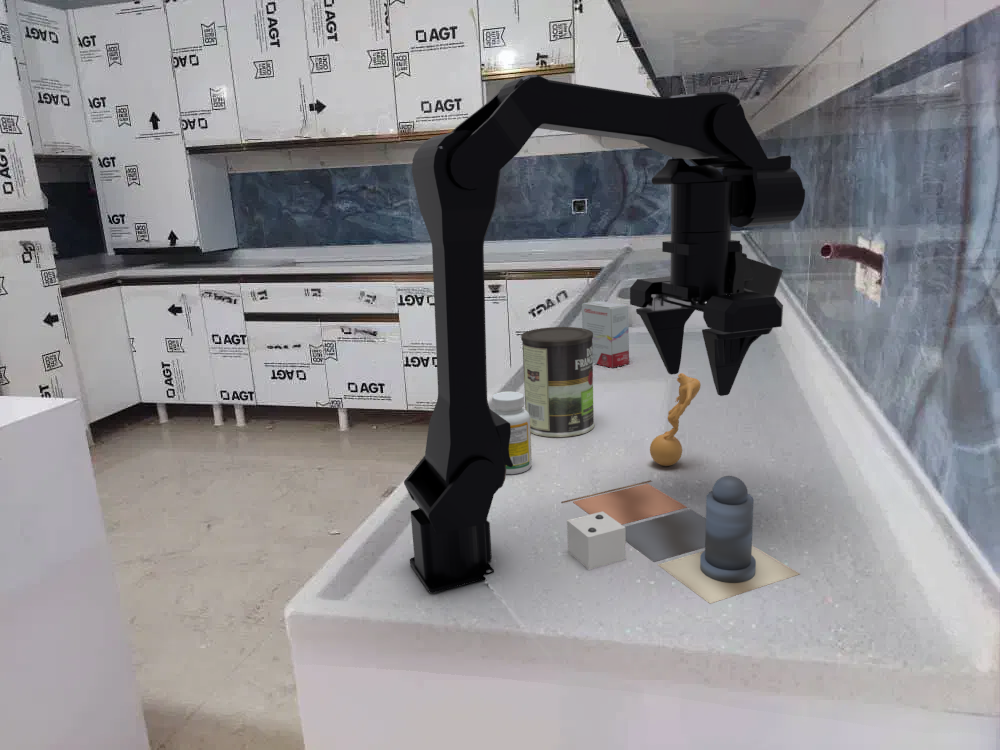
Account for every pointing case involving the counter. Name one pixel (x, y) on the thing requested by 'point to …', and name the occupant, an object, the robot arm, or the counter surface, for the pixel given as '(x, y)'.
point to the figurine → (674, 424)
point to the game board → (676, 539)
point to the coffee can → (558, 380)
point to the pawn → (728, 532)
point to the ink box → (607, 332)
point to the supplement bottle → (515, 429)
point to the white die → (596, 540)
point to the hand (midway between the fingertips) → (697, 383)
